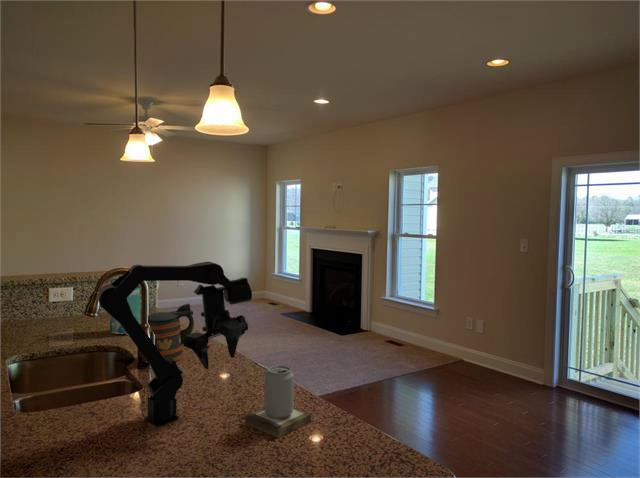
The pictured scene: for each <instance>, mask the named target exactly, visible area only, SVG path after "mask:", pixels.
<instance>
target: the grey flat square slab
mask: <svg viewBox="0 0 640 478" xmlns="http://www.w3.org/2000/svg"><path fill="white" fill-rule="evenodd" d="M244 422H245V423H244V424H246V425H248V426H250V427H252V428H255V429H257V430H259V431H261V432H263V433H266V434H267V435H270V436H272V437H275V438H277V439H279V438H281V437H283V436H286V435H288V434H290V433H291V432H294V431H296V430H298V429H300V428H301V427H304V426H306V425H307V424H310V423H311V422H312V413H309V412H306V411H303V410H300V409H299V408H298V409H297V408H295V407H293V412H292V413H291V414H290V416H288V417H286V418H282V419H275V418H271V417H269V416H268V415H267V414H266V413H265V407H264V408H261V409H258V410H256V411H253V412H249V413H246V415H245V419H244Z"/></svg>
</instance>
